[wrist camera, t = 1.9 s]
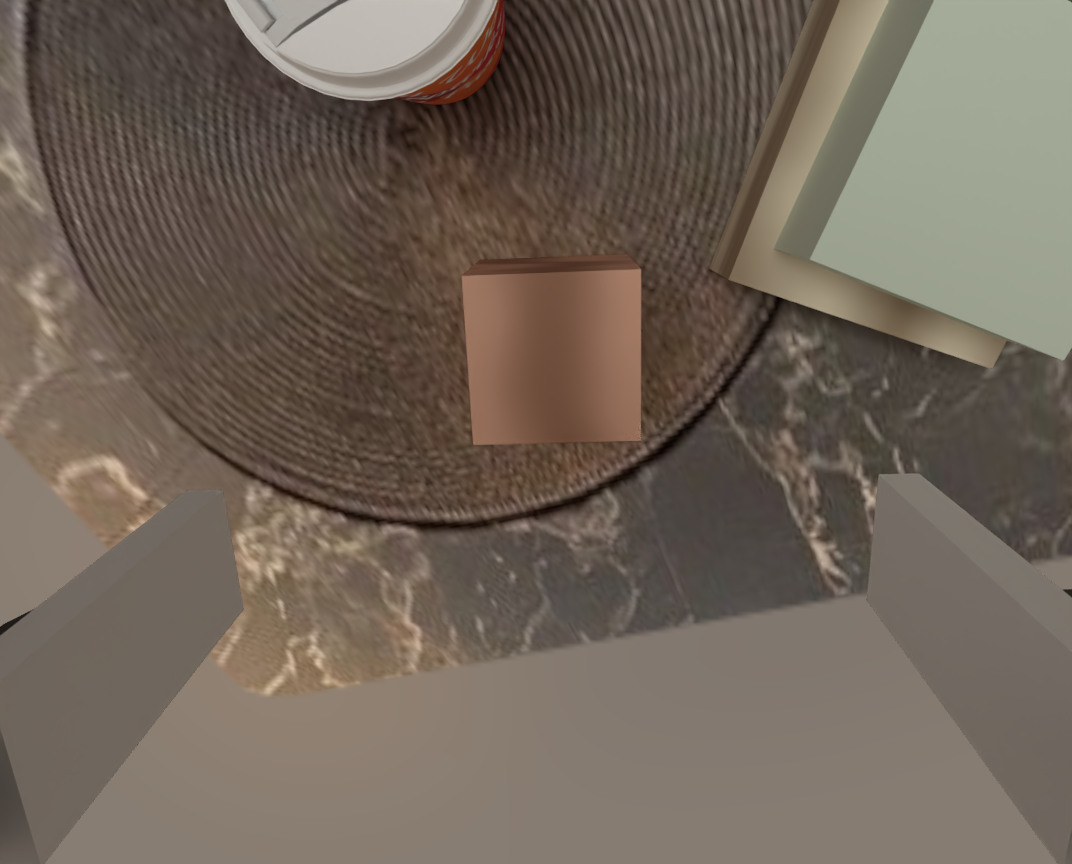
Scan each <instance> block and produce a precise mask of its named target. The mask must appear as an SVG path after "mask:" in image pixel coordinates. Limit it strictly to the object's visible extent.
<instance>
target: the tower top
mask: <svg viewBox="0 0 1072 864" xmlns="http://www.w3.org/2000/svg"><path fill="white" fill-rule="evenodd" d="M774 249H776V250H779V251H781V252H784V253H786V254H789V255H791V256H794V257H796V258H799V259H801V260H804V261H806V262H809V263H811V264H814V265H816V266H819V267H821V268H824V269H826V270H829V271H831V272H834V273H836V274H839V275H841V276H844V277H846V278H849V279H851V280H854V281H856V282H859V283H861V284H864V285H866V286H869V287H871V288H874V289H876V290H879V291H882V292H884V293H887V294H889V295H892V296H894V297H897V298H899V299H902V300H904V301H907V302H909V303H912V304H914V305H917V306H919V307H922V308H924V309H927V310H929V311H932V312H934V313H937V314H939V315H942V316H944V317H947V318H949V319H952V320H954V321H957V322H959V323H962V324H964V325H967V326H969V327H972V328H974V329H977V330H979V331H982V332H984V333H987V334H989V335H992V336H995V337H998V338H1001V339H1003V340H1006V341H1009V342H1012V343H1015V344H1018V345H1020V346H1023V347H1026V348H1029V349H1032V350H1035V351H1037V352H1040V353H1043V354H1046V355H1049V356H1052V357H1054V358H1057V359H1060V360H1063V361H1064V359H1065V358H1066V356H1067V354H1068V353H1069V351H1070V349H1071V348H1072V2H1070V1H1068V0H889V1H888V3H887V5H886V7H885V9H884V11H883V13H882V16H881V18H880V20H879V22H878V24H877V26H876V29H875V31H874V33H873V35H872V37H871V39H870V42H869V44H868V46H867V48H866V50H865V52H864V55H863V57H862V59H861V61H860V63H859V65H858V67H857V70H856V72H855V74H854V76H853V78H852V80H851V83H850V85H849V87H848V89H847V91H846V93H845V96H844V98H843V100H842V102H841V104H840V106H839V109H838V111H837V113H836V115H835V117H834V119H833V121H832V124H831V126H830V128H829V130H828V132H827V134H826V137H825V139H824V141H823V143H822V145H821V147H820V150H819V152H818V154H817V156H816V158H815V160H814V163H813V165H812V167H811V169H810V171H809V173H808V175H807V178H806V180H805V182H804V184H803V186H802V188H801V191H800V193H799V195H798V197H797V199H796V201H795V204H794V206H793V208H792V210H791V212H790V214H789V217H788V219H787V221H786V223H785V225H784V227H783V229H782V232H781V234H780V236H779V238H778V240H777V242H776V245H775V247H774Z"/></svg>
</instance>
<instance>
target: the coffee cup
mask: <svg viewBox="0 0 1072 864" xmlns="http://www.w3.org/2000/svg"><path fill="white" fill-rule="evenodd" d="M225 1H226V4H227V6H228V8H229V10H230V12H231V14H232V16H233V17H234V19H235V20H236V22H237V23H238V25H239V26H240V28H241V29H242V31H243V32H244V34H245V35H246V37H247V38H248V39H249V40H250V42H251V43H252V44H253V45H254V46H255V47H256V48H257V49H258V51H259V52H260V53H261V54H262V55H263V56H264V57H265V58H266V59H267V60H268V61H270V62H271V63H272V64H273V65H274V66H276V67H277V68H278V69H279V70H280V71H281V72H283V73H284V74H286V75H288V76H289V77H291V78H292V79H294V80H296V81H297V82H299V83H300V84H302V85H304V86H307V87H309V88H311V89H314V90H316V91H318V92H321V93H323V94H327V95H331V96H335V97H339V98H343V99H349V100H362V101H373V100H383V99H392V98H398V99H402V100H407V101H412V102H417V103H424V104H434V105H440V104H449V103H454V102H457V101H460V100H463V99H465V98H467V97H469V96H471V95H472V94H474V93H475V92H477V91H478V90H479V89H480V88H481V87H482V86H483V85H484V84H485V83H486V82H487V81H488V80H489V78H490V77H491V75H492V74H493V72H494V71H495V69H496V67H497V65H498V63H499V60H500V57H501V54H502V50H503V45H504V39H505V10H504V0H225Z"/></svg>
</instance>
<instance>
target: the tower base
mask: <svg viewBox="0 0 1072 864" xmlns="http://www.w3.org/2000/svg"><path fill="white" fill-rule="evenodd" d="M888 1H889V0H814V1H813V3H812V6H811V8H810V11H809V14H808V16H807V19H806V21H805V24H804V26H803V29H802V32H801V34H800V37H799V39H798V42H797V44H796V47H795V49H794V52H793V55H792V57H791V60H790V62H789V65H788V67H787V70H786V73H785V75H784V78H783V80H782V83H781V85H780V88H779V91H778V93H777V96H776V98H775V101H774V103H773V106H772V109H771V111H770V114H769V116H768V119H767V121H766V124H765V126H764V129H763V132H762V134H761V137H760V139H759V142H758V144H757V147H756V150H755V152H754V155H753V157H752V160H751V162H750V165H749V168H748V170H747V173H746V175H745V178H744V180H743V183H742V186H741V188H740V191H739V193H738V196H737V198H736V201H735V204H734V206H733V209H732V211H731V214H730V216H729V219H728V221H727V224H726V227H725V229H724V232H723V234H722V237H721V239H720V242H719V245H718V247H717V250H716V252H715V255H714V257H713V260H712V263H711V265H710V268H709V269H711V270H713V271H714V272H716V273H718V274H719V275H721V276H723V277H725V278H726V279H728V280H731V281H733V282H736V283H739V284H742V285H745V286H748V287H751V288H754V289H757V290H760V291H763V292H766V293H769V294H772V295H775V296H778V297H781V298H784V299H787V300H790V301H793V302H795V303H798V304H801V305H804V306H807V307H810V308H813V309H816V310H819V311H822V312H825V313H828V314H831V315H834V316H837V317H840V318H843V319H846V320H849V321H852V322H854V323H857V324H860V325H863V326H866V327H869V328H872V329H875V330H878V331H881V332H884V333H887V334H890V335H893V336H896V337H899V338H902V339H905V340H908V341H911V342H914V343H916V344H919V345H922V346H925V347H928V348H931V349H934V350H937V351H940V352H943V353H946V354H949V355H952V356H955V357H958V358H961V359H964V360H967V361H970V362H973V363H975V364H978V365H981V366H984V367H987V368H990V369H992V368H993V366H994V364H995V362H996V360H997V359H998V357H999V355H1000V353H1001V351H1002V349H1003V347H1004V345H1005V343H1006V340H1003V339H1001V338H998V337H995V336H992V335H989V334H987V333H984V332H982V331H979V330H977V329H974V328H972V327H969V326H967V325H964V324H962V323H959V322H957V321H954V320H952V319H949V318H947V317H944V316H942V315H939V314H937V313H934V312H932V311H929V310H927V309H924V308H922V307H919V306H917V305H914V304H912V303H909V302H907V301H904V300H902V299H899V298H897V297H894V296H892V295H889V294H887V293H884V292H882V291H879V290H876V289H874V288H871V287H869V286H866V285H864V284H861V283H859V282H856V281H854V280H851V279H849V278H846V277H844V276H841V275H839V274H836V273H834V272H831V271H829V270H826V269H824V268H821V267H819V266H816V265H814V264H811V263H809V262H806V261H804V260H801V259H799V258H796V257H794V256H791V255H789V254H786V253H784V252H781V251H779V250H776V249H774V247H775V245H776V242H777V240H778V238H779V236H780V234H781V232H782V229H783V227H784V225H785V223H786V221H787V219H788V217H789V214H790V212H791V210H792V208H793V206H794V204H795V201H796V199H797V197H798V195H799V193H800V191H801V188H802V186H803V184H804V182H805V180H806V178H807V175H808V173H809V171H810V169H811V167H812V165H813V163H814V160H815V158H816V156H817V154H818V152H819V150H820V147H821V145H822V143H823V141H824V139H825V137H826V134H827V132H828V130H829V128H830V126H831V124H832V121H833V119H834V117H835V115H836V113H837V111H838V109H839V106H840V104H841V102H842V100H843V98H844V96H845V93H846V91H847V89H848V87H849V85H850V83H851V80H852V78H853V76H854V74H855V72H856V70H857V67H858V65H859V63H860V61H861V59H862V57H863V55H864V52H865V50H866V48H867V46H868V44H869V42H870V39H871V37H872V35H873V33H874V31H875V29H876V26H877V24H878V22H879V20H880V18H881V16H882V13H883V11H884V9H885V7H886V5H887V3H888Z"/></svg>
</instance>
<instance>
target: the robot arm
mask: <svg viewBox="0 0 1072 864" xmlns="http://www.w3.org/2000/svg"><path fill="white" fill-rule="evenodd" d="M867 601H868V603H869V604H870V605H871V607H872V608H873V609H874V611H875V612H876V614H877V615H878V616H879V618H880V619H881V621H882V622H883V623H884V625H885V626H886V627H887V629H888V630H889V632H890V633H891V634H892V636H893V637H894V638H895V640H896V641H897V643H898V644H899V645H900V647H901V648H902V649H903V651H904V652H905V654H906V655H907V656H908V658H909V659H910V661H911V662H912V663H913V665H914V666H915V667H916V669H917V670H918V672H919V673H920V674H921V676H922V677H923V679H924V680H925V681H926V683H927V684H928V685H929V687H930V688H931V690H932V691H933V692H934V694H935V695H936V697H937V698H938V699H939V701H940V702H941V703H942V705H943V706H944V708H945V709H946V710H947V712H948V713H949V714H950V716H951V717H952V719H953V720H954V721H955V723H956V724H957V726H958V727H959V728H960V730H961V731H962V732H963V734H964V735H965V737H966V738H967V739H968V741H969V742H970V744H971V745H972V746H973V748H974V749H975V750H976V752H977V753H978V755H979V756H980V757H981V759H982V760H983V762H984V763H985V764H986V765H987V767H988V768H989V770H990V771H991V773H992V774H993V775H994V777H995V778H996V779H997V781H998V782H999V783H1000V785H1001V786H1002V788H1003V789H1004V791H1005V792H1006V793H1007V795H1008V796H1009V797H1010V799H1011V800H1012V802H1013V803H1014V804H1015V806H1016V807H1017V809H1018V810H1019V811H1020V813H1021V814H1022V815H1023V817H1024V818H1025V819H1026V821H1027V822H1028V824H1029V825H1030V827H1031V828H1032V829H1033V831H1034V832H1035V833H1036V835H1037V836H1038V838H1039V839H1040V840H1041V842H1042V843H1043V844H1044V846H1045V847H1046V849H1047V850H1048V851H1049V853H1050V854H1051V856H1052V857H1053V858H1054V860H1055V861H1056V862H1057V864H1072V589H1071V590H1070V589H1069V590H1062V589H1061V588H1059V587H1058V586H1057V585H1056V584H1054V583H1053V582H1052V581H1050V580H1049V579H1048V578H1047V577H1046V576H1045V575H1043V574H1042V573H1041V572H1039V571H1038V570H1037V569H1036V568H1035V567H1033V566H1032V565H1031V564H1030V563H1029V562H1027V561H1026V560H1025V559H1024V558H1022V557H1021V556H1020V555H1019V554H1017V553H1016V552H1015V551H1014V550H1013V549H1011V548H1010V547H1009V546H1008V545H1006V544H1005V543H1004V542H1003V541H1001V540H1000V539H999V538H998V537H997V536H995V535H994V534H993V533H992V532H990V531H989V530H988V529H987V528H985V527H984V526H983V525H982V524H981V523H979V522H978V521H977V520H976V519H974V518H973V517H972V516H971V515H969V514H968V513H967V512H966V511H964V510H963V509H962V508H961V507H960V506H958V505H957V504H956V503H955V502H953V501H952V500H951V499H950V498H948V497H947V496H946V495H945V494H944V493H942V492H941V491H940V490H939V489H937V488H936V487H935V486H934V485H932V484H931V483H930V482H929V481H928V480H926V479H925V478H924V477H923V476H921V475H920V474H919V473H917V474H879V476H878V487H877V497H876V507H875V518H874V528H873V538H872V549H871V559H870V569H869V580H868V590H867ZM243 609H244V608H243V602H242V597H241V591H240V585H239V579H238V574H237V568H236V562H235V556H234V551H233V545H232V539H231V533H230V528H229V522H228V516H227V510H226V505H225V499H224V493H223V490H187V491H185V492H184V493H183V494H181V495H180V496H179V497H177V498H176V499H175V500H174V501H172V502H171V503H170V504H168V505H167V506H166V507H165V508H163V509H162V510H161V511H160V512H158V513H157V514H156V515H154V516H153V517H152V518H151V519H149V520H148V521H147V522H145V523H144V524H143V525H142V526H140V527H139V528H138V529H136V530H135V531H134V532H133V533H131V534H130V535H129V536H127V537H126V538H125V539H124V540H122V541H121V542H120V543H118V544H117V545H116V546H115V547H113V548H112V549H111V550H109V551H108V552H107V553H106V554H104V555H103V556H102V557H101V558H100V559H98V560H97V561H95V562H94V563H93V564H92V565H90V566H89V567H88V568H86V569H85V570H84V571H83V572H81V573H80V574H79V575H77V576H76V577H75V578H74V579H72V580H71V581H70V582H69V583H67V584H66V585H65V586H64V587H62V588H61V589H59V590H58V591H57V592H56V593H54V594H53V595H52V596H50V597H49V598H48V599H47V600H45V601H44V602H43V603H42V604H40V605H39V606H38V607H36V608H35V609H33V610H31V611H29V612H27V613H25V614H23V615H21V616H19V617H17V618H15V619H13V620H11V621H9V622H7V623H5V624H3V625H2V626H1V627H0V864H45V862H46V861H47V860H48V858H49V857H50V856H51V855H52V853H53V852H54V851H55V850H56V848H57V847H58V846H59V844H60V843H61V842H62V841H63V839H64V838H65V837H66V835H67V834H68V833H69V832H70V830H71V829H72V828H73V827H74V825H75V824H76V823H77V821H78V820H79V819H80V818H81V816H82V815H83V814H84V813H85V811H86V810H87V809H88V807H89V806H90V804H92V802H93V801H94V800H95V798H96V797H97V796H98V795H99V793H100V792H101V791H102V790H103V788H104V787H105V786H106V784H107V783H108V782H109V781H110V779H111V778H112V777H113V775H114V774H115V773H116V772H117V770H118V769H119V768H120V766H121V765H122V764H123V763H124V761H125V760H126V759H127V758H128V756H129V755H130V754H131V752H132V751H133V750H134V749H135V747H136V746H137V745H138V743H139V742H140V741H141V740H142V738H143V737H144V736H145V734H146V733H147V732H148V730H149V729H150V728H151V727H152V725H153V724H154V723H155V722H156V720H157V719H158V718H159V717H160V715H161V714H162V713H163V712H164V710H165V709H166V708H167V706H168V705H169V704H170V703H171V701H172V700H173V699H174V697H175V696H176V695H177V694H178V692H179V691H180V690H181V689H182V687H183V686H184V685H185V683H186V682H187V681H188V680H189V678H190V677H191V676H192V674H193V673H194V672H195V670H196V669H197V668H198V667H199V666H200V664H201V663H202V662H203V660H204V659H205V658H206V657H207V655H208V654H209V653H210V651H211V650H212V649H213V648H214V646H215V645H216V644H217V643H218V641H219V640H220V639H221V637H222V636H223V635H224V634H225V632H226V631H227V630H228V628H229V627H230V626H231V625H232V623H233V622H234V621H235V620H236V618H237V617H238V616H239V614H240V613H241V612H242V611H243Z"/></svg>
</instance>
